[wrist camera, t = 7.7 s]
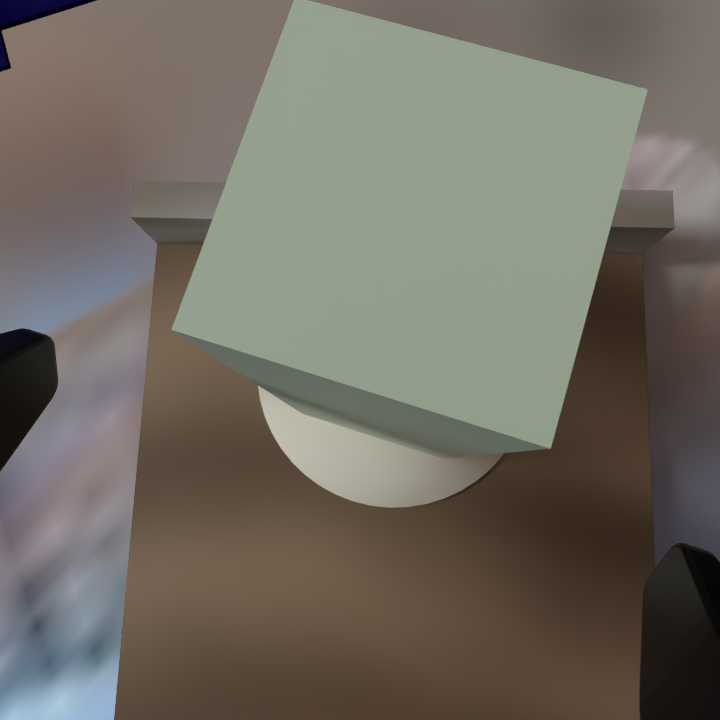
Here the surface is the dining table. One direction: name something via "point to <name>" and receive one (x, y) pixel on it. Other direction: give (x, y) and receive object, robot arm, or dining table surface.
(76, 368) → the dining table surface
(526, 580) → the walnut board
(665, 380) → the dining table surface
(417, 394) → the sage block
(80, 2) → the blue notched block
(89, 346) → the dining table surface
